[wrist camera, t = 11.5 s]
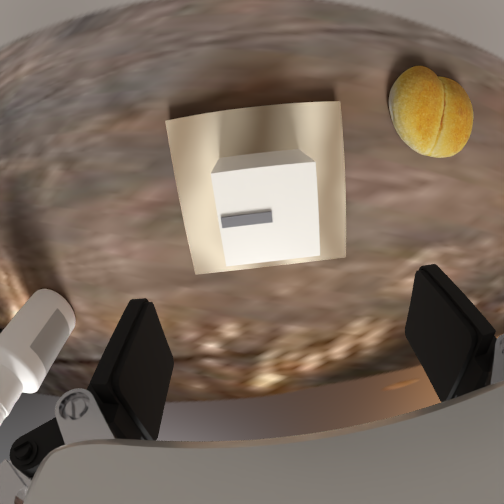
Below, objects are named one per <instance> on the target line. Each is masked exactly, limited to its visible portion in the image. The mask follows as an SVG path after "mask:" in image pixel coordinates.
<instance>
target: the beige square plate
mask: <svg viewBox="0 0 504 504" xmlns="http://www.w3.org/2000/svg"><path fill="white" fill-rule="evenodd" d="M165 122H166V128H167V134H168V140H169V146H170V152H171V158H172V163H173V169H174V174H175V179H176V185H177V190H178V195H179V200H180V205H181V210H182V215H183V220H184V225H185V229H186V234H187V239H188V243H189V248H190V252H191V257H192V261H193V265H194V270H195V274H205V273H214V272H224V271H233V270H242V269H250V268H259V267H268V266H277V265H285V264H294V263H302V262H310V261H318V260H327V259H335V258H343V257H346V190H345V163H344V145H343V130H342V117H341V105H340V101H328V102H305V103H289V104H277V105H266V106H256V107H248V108H239V109H232V110H225V111H218V112H211V113H205V114H199V115H193V116H188V117H182V118H177V119H172V120H167V121H165ZM292 149H300V150H301V151H302V152H304V153H305V154H306V155H307V156H309V157H310V158H311V159H313V160H314V161H315V162H316V175H317V191H318V211H319V235H320V256H313V257H304V258H296V259H287V260H279V261H270V262H262V263H253V264H244V265H236V266H227V267H226V262H225V256H224V251H223V245H222V239H221V233H220V228H219V222H218V216H217V210H216V204H215V198H214V192H213V186H212V180H211V172H212V170H213V168H214V166H215V165H216V163H217V161H218V159H219V158H223V157H230V156H237V155H245V154H254V153H262V152H272V151H281V150H292Z"/></svg>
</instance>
